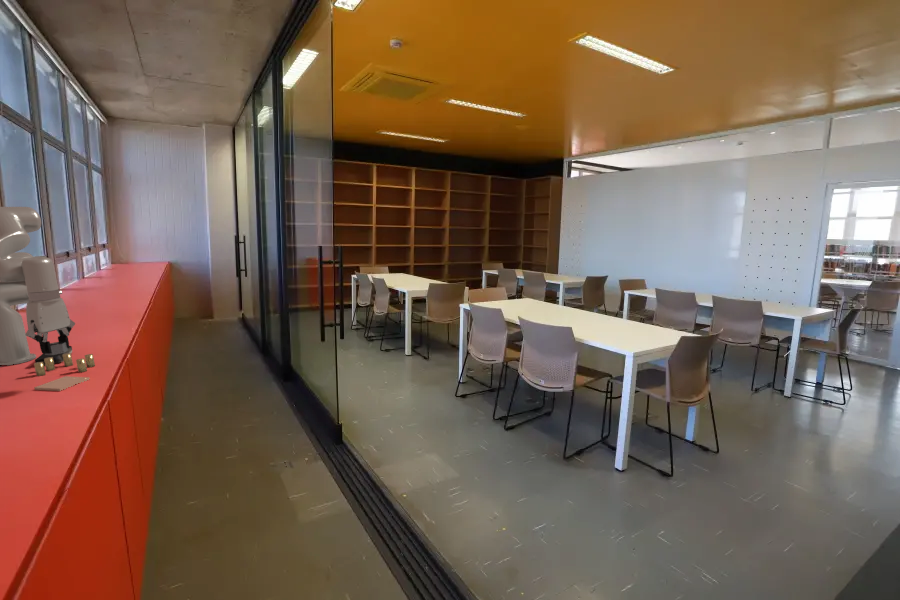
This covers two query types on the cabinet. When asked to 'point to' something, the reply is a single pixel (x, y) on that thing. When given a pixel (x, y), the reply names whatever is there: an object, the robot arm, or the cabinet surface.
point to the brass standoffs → (67, 362)
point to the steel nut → (58, 348)
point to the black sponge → (56, 358)
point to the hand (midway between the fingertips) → (56, 350)
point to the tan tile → (61, 383)
